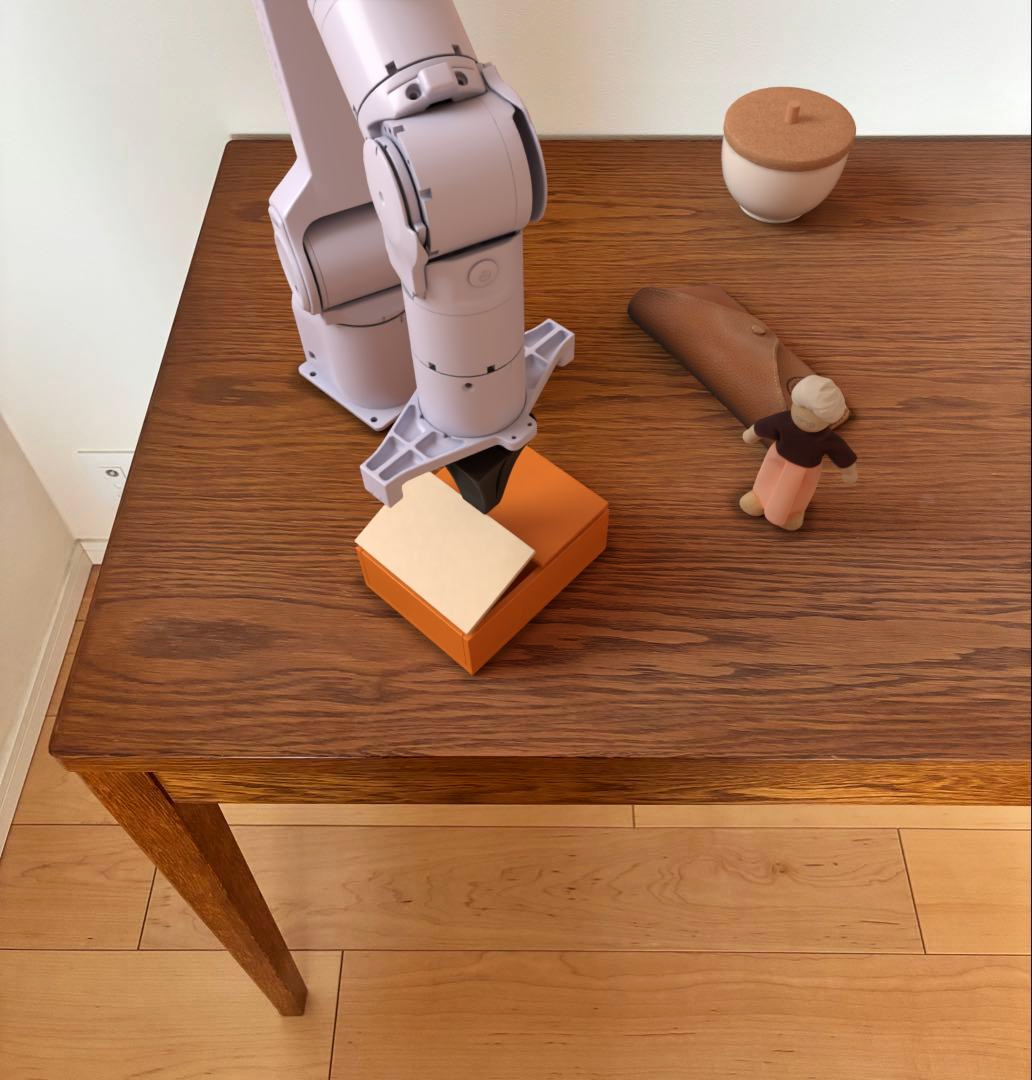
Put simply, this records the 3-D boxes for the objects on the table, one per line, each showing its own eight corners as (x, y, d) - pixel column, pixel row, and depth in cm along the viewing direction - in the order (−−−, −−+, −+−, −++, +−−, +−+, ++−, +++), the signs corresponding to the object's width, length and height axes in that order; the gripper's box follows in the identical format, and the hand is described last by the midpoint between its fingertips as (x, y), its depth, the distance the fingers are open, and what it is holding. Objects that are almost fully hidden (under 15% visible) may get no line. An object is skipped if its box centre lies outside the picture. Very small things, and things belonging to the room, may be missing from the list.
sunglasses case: (861, 411, 73) (847, 375, 67) (790, 477, 74) (770, 448, 68) (705, 277, 81) (681, 235, 76) (643, 338, 83) (615, 302, 77)
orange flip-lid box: (472, 675, 62) (467, 635, 57) (365, 585, 66) (353, 540, 61) (606, 548, 67) (610, 502, 63) (499, 471, 71) (496, 423, 67)
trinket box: (713, 161, 91) (729, 63, 83) (831, 169, 90) (858, 70, 82) (710, 236, 85) (726, 138, 77) (836, 245, 84) (866, 146, 76)
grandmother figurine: (719, 517, 68) (752, 391, 58) (732, 476, 70) (765, 347, 60) (831, 548, 67) (885, 423, 56) (841, 505, 69) (895, 377, 58)
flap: (468, 635, 58) (466, 634, 57) (356, 542, 62) (353, 540, 61) (536, 552, 58) (535, 550, 58) (420, 465, 62) (419, 463, 62)
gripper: (417, 462, 44) (442, 614, 56) (622, 297, 50) (607, 465, 61) (316, 385, 47) (359, 544, 58) (521, 238, 53) (524, 408, 64)
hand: (481, 499), depth 60 cm, fingers closed
